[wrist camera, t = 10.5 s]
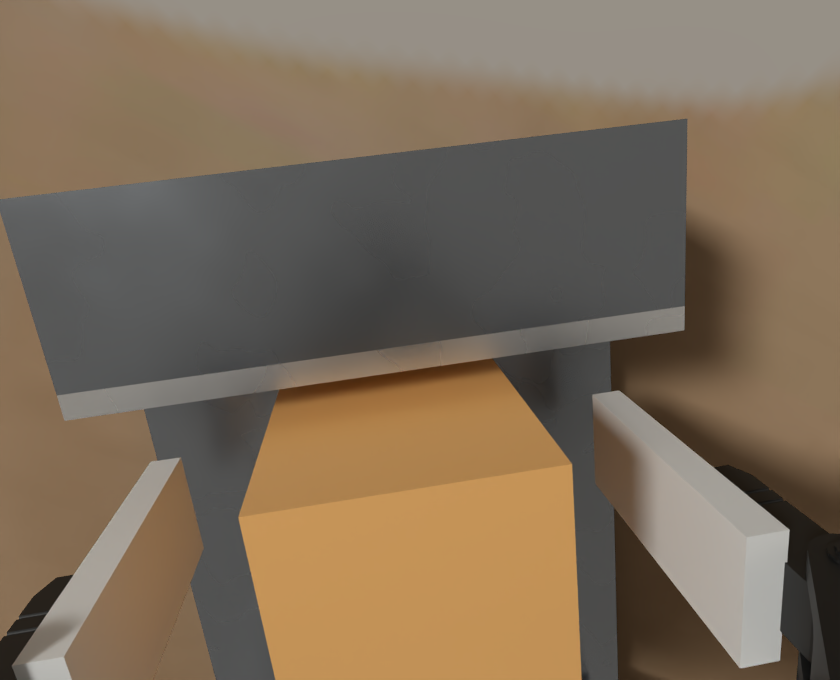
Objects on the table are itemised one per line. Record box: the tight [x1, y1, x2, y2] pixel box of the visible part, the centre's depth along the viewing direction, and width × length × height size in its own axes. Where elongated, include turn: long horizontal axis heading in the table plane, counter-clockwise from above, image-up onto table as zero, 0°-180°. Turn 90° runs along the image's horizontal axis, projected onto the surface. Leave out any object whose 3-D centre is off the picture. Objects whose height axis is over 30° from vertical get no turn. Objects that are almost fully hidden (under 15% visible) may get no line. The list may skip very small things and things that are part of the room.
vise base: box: [0, 119, 687, 680], centre depth 18 cm, size 28×14×8 cm, turn 6°
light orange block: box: [238, 358, 582, 680], centre depth 14 cm, size 7×5×9 cm
